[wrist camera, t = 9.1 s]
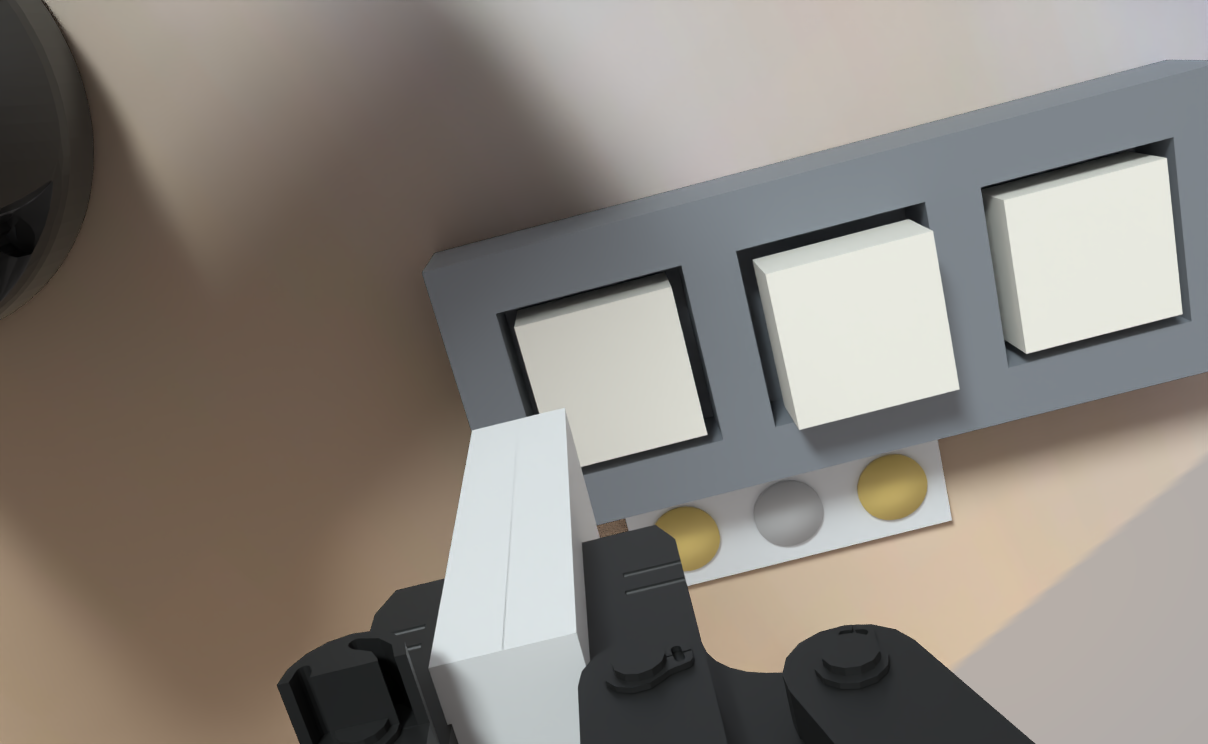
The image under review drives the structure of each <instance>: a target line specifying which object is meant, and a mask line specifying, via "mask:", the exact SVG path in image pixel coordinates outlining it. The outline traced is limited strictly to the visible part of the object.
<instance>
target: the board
mask: <svg viewBox="0 0 1208 744" xmlns="http://www.w3.org/2000/svg"><path fill="white" fill-rule="evenodd" d="M1127 151H1130V152H1136V153H1141V154H1147V155H1153V156H1158V157H1164V158H1167V164H1168V174H1169V184H1170V194H1171V204H1172V214H1173V224H1174V233H1175V243H1176V253H1177V263H1178V273H1179V283H1180V293H1181V303H1182V312H1183V314H1181V315H1177V316H1173V317H1169V318H1165V319H1162V320H1158V321H1154V322H1150V323H1146V324H1142V325H1138V326H1134V327H1130V328H1126V329H1122V330H1118V331H1114V332H1110V333H1106V334H1103V335H1099V336H1095V337H1091V338H1087V339H1083V340H1079V341H1075V342H1071V343H1067V344H1063V345H1059V346H1055V347H1051V348H1047V349H1043V350H1040V351H1036V352H1032V353H1028V354H1026V353H1024V352H1023V351H1021V350H1020V349H1018V348H1017V347H1015V346H1014V345H1012V344H1011V343H1009V342H1007V341H1006V340H1004V336H1003V330H1002V323H1001V317H1000V310H999V304H998V297H997V291H996V284H995V278H994V271H993V265H992V258H991V252H990V245H989V239H988V232H987V225H986V219H985V212H984V206H983V199H982V193H981V189H985V188H989V187H993V186H997V185H1000V184H1004V183H1008V182H1012V181H1016V180H1020V179H1023V178H1027V177H1031V176H1035V175H1039V174H1043V173H1046V172H1050V171H1054V170H1058V169H1062V168H1066V167H1069V166H1073V165H1077V164H1081V163H1085V162H1089V161H1092V160H1096V159H1100V158H1104V157H1108V156H1112V155H1115V154H1119V153H1123V152H1127ZM907 219H910V220H912V221H914V222H916V223H918V224H920V225H922V226H924V227H926V228H928V229H930V230H932V231H933V234H934V240H935V246H936V252H937V258H938V263H939V269H940V275H941V281H942V287H943V293H944V299H945V305H946V311H947V317H948V323H949V329H950V335H951V341H952V347H953V353H954V359H955V365H956V370H957V376H958V382H959V388H960V389H959V390H955V391H951V392H947V393H943V394H939V395H935V396H931V397H927V398H924V399H920V400H916V401H912V402H908V403H904V404H900V405H896V406H892V407H888V408H884V409H880V410H876V411H872V412H868V413H864V414H860V415H856V416H852V417H849V418H845V419H841V420H837V421H833V422H829V423H825V424H821V425H817V426H813V427H809V428H805V429H801V430H799V429H798V427H797V425H796V424H795V422H794V421H793V419H792V417H791V416H790V414H789V413H788V411H787V409H786V408H785V406H784V402H783V397H782V392H781V388H780V383H779V379H778V374H777V370H776V365H775V361H774V356H773V352H772V347H771V343H770V338H769V333H768V329H767V324H766V320H765V315H764V311H763V306H762V302H761V297H760V293H759V288H758V283H757V279H756V274H755V270H754V265H753V261H752V260H753V259H757V258H761V257H765V256H769V255H773V254H776V253H780V252H784V251H788V250H792V249H796V248H799V247H803V246H807V245H811V244H815V243H819V242H822V241H826V240H830V239H834V238H838V237H842V236H845V235H849V234H853V233H857V232H861V231H865V230H869V229H872V228H876V227H880V226H884V225H888V224H892V223H895V222H899V221H903V220H907ZM663 272H665V274H666V276H667V278H668V281H669V283H670V285H671V288H672V292H673V296H674V300H675V304H676V308H677V312H678V316H679V320H680V325H681V329H682V333H683V337H684V341H685V345H686V349H687V353H688V357H689V361H690V365H691V369H692V374H693V378H694V382H695V386H696V390H697V394H698V398H699V402H700V406H701V410H702V414H703V419H704V423H705V427H706V431H707V435H705V436H701V437H697V438H693V439H689V440H685V441H681V442H677V443H673V444H669V445H665V446H661V447H657V448H654V449H650V450H646V451H642V452H638V453H634V454H630V455H626V456H622V457H618V458H614V459H610V460H606V461H602V462H598V463H595V464H591V465H587V466H583V467H581V469H582V473H583V477H584V480H585V484H586V488H587V492H588V495H589V499H590V503H591V507H592V510H593V514H594V518H595V521H596V525H600V524H604V523H608V522H612V521H616V520H620V519H624V518H628V517H632V516H636V515H640V514H644V513H648V512H652V511H656V510H660V509H664V508H668V507H672V506H676V505H680V504H684V503H688V502H692V501H696V500H700V499H704V498H707V497H711V496H715V495H719V494H723V493H727V492H731V491H735V490H739V489H743V488H747V487H751V486H755V485H759V484H763V483H767V482H771V481H775V480H779V479H783V478H787V477H791V476H795V475H799V474H803V473H807V472H811V471H815V470H819V469H823V468H827V467H831V466H835V465H839V464H843V463H847V462H850V461H854V460H858V459H862V458H866V457H870V456H874V455H878V454H882V453H886V452H890V451H894V450H898V449H902V448H906V447H910V446H914V445H918V444H922V443H926V442H930V441H934V440H938V439H942V438H946V437H950V436H954V435H958V434H962V433H966V432H970V431H974V430H978V429H982V428H986V427H990V426H994V425H997V424H1001V423H1005V422H1009V421H1013V420H1017V419H1021V418H1025V417H1029V416H1033V415H1037V414H1041V413H1045V412H1049V411H1053V410H1057V409H1061V408H1065V407H1069V406H1073V405H1077V404H1081V403H1085V402H1089V401H1093V400H1097V399H1101V398H1105V397H1109V396H1113V395H1117V394H1121V393H1125V392H1129V391H1133V390H1137V389H1141V388H1144V387H1148V386H1152V385H1156V384H1160V383H1164V382H1168V381H1172V380H1176V379H1180V378H1184V377H1188V376H1192V375H1196V374H1200V373H1204V372H1208V60H1165V61H1161V62H1157V63H1153V64H1150V65H1146V66H1142V67H1138V68H1134V69H1131V70H1127V71H1123V72H1119V73H1115V74H1112V75H1108V76H1104V77H1100V78H1097V79H1093V80H1089V81H1085V82H1081V83H1078V84H1074V85H1070V86H1066V87H1062V88H1059V89H1055V90H1051V91H1047V92H1043V93H1040V94H1036V95H1032V96H1028V97H1024V98H1021V99H1017V100H1013V101H1009V102H1006V103H1002V104H998V105H994V106H990V107H987V108H983V109H979V110H975V111H971V112H968V113H964V114H960V115H956V116H952V117H949V118H945V119H941V120H937V121H934V122H930V123H926V124H922V125H918V126H915V127H911V128H907V129H903V130H899V131H896V132H892V133H888V134H884V135H880V136H877V137H873V138H869V139H865V140H861V141H858V142H854V143H850V144H846V145H843V146H839V147H835V148H831V149H827V150H824V151H820V152H816V153H812V154H808V155H805V156H801V157H797V158H793V159H789V160H786V161H782V162H778V163H774V164H770V165H767V166H763V167H759V168H755V169H752V170H748V171H744V172H740V173H736V174H733V175H729V176H725V177H721V178H717V179H714V180H710V181H706V182H702V183H698V184H695V185H691V186H687V187H683V188H680V189H676V190H672V191H668V192H664V193H661V194H657V195H653V196H649V197H645V198H642V199H638V200H634V201H630V202H626V203H623V204H619V205H615V206H611V207H607V208H604V209H600V210H596V211H592V212H589V213H585V214H581V215H577V216H573V217H570V218H566V219H562V220H558V221H554V222H551V223H547V224H543V225H539V226H535V227H532V228H528V229H524V230H520V231H516V232H513V233H509V234H505V235H501V236H498V237H494V238H490V239H486V240H482V241H479V242H475V243H471V244H467V245H463V246H460V247H456V248H452V249H448V250H444V251H441V252H437V253H434V255H433V256H432V258H431V259H430V261H429V262H428V264H427V266H426V267H425V269H424V270H423V272H422V275H423V278H424V282H425V285H426V288H427V291H428V294H429V297H430V301H431V304H432V307H433V310H434V313H435V317H436V320H437V323H438V326H439V329H440V332H441V336H442V339H443V342H444V345H445V348H446V352H447V355H448V358H449V361H450V364H451V368H452V371H453V374H454V377H455V380H456V383H457V387H458V390H459V393H460V396H461V399H462V403H463V406H464V409H465V412H466V415H467V419H468V422H469V425H470V428H471V431H472V430H476V429H480V428H484V427H488V426H492V425H496V424H500V423H504V422H509V421H513V420H517V419H521V418H525V417H529V416H533V415H537V414H539V411H538V407H537V404H536V401H535V397H534V394H533V390H532V387H531V384H530V380H529V377H528V373H527V370H526V366H525V363H524V360H523V356H522V353H521V349H520V346H519V342H518V339H517V336H516V332H515V329H514V326H515V321H516V315H517V310H521V309H525V308H529V307H532V306H536V305H540V304H544V303H548V302H552V301H555V300H559V299H563V298H567V297H571V296H575V295H578V294H582V293H586V292H590V291H594V290H598V289H601V288H605V287H609V286H613V285H617V284H621V283H624V282H628V281H632V280H636V279H640V278H644V277H647V276H651V275H655V274H659V273H663Z"/></svg>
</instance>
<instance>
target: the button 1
mask: <svg viewBox="0 0 1208 744" xmlns="http://www.w3.org/2000/svg"><path fill="white" fill-rule="evenodd" d="M514 329H515V332H516V336H517V339H518V342H519V346H520V349H521V353H522V356H523V360H524V363H525V366H526V370H527V373H528V377H529V380H530V384H531V387H532V390H533V394H534V397H535V401H536V404H537V407H538V411H539V414H541V413H545V412H549V411H553V410H557V409H562V408H565V410H566V413H567V417H568V421H569V425H570V428H571V432H572V436H573V440H574V443H575V447H576V451H577V454H578V458H579V462H580V466H581V467H583V466H587V465H591V464H595V463H598V462H602V461H606V460H610V459H614V458H618V457H622V456H626V455H630V454H634V453H638V452H642V451H646V450H650V449H654V448H657V447H661V446H665V445H669V444H673V443H677V442H681V441H685V440H689V439H693V438H697V437H701V436H705V435H707V431H706V427H705V423H704V419H703V414H702V410H701V406H700V402H699V398H698V394H697V390H696V386H695V382H694V378H693V374H692V369H691V365H690V361H689V357H688V353H687V349H686V345H685V341H684V337H683V333H682V329H681V325H680V320H679V316H678V312H677V308H676V304H675V300H674V296H673V292H672V288H671V285H670V283H669V281H668V278H667V276H666V274H665V272H663V273H659V274H655V275H651V276H647V277H644V278H640V279H636V280H632V281H628V282H624V283H621V284H617V285H613V286H609V287H605V288H601V289H598V290H594V291H590V292H586V293H582V294H578V295H575V296H571V297H567V298H563V299H559V300H555V301H552V302H548V303H544V304H540V305H536V306H532V307H529V308H525V309H521V310H517V315H516V321H515V326H514Z"/></svg>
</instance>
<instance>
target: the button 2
mask: <svg viewBox="0 0 1208 744" xmlns="http://www.w3.org/2000/svg"><path fill="white" fill-rule="evenodd" d="M752 261H753V265H754V270H755V274H756V279H757V283H758V288H759V293H760V297H761V302H762V306H763V311H764V315H765V320H766V324H767V329H768V333H769V338H770V343H771V347H772V352H773V356H774V361H775V365H776V370H777V374H778V379H779V383H780V388H781V392H782V397H783V402H784V406H785V408H786V409H787V411H788V413H789V414H790V416H791V417H792V419H793V421H794V422H795V424H796V425H797V427H798V429H799V430H801V429H805V428H809V427H813V426H817V425H821V424H825V423H829V422H833V421H837V420H841V419H845V418H849V417H852V416H856V415H860V414H864V413H868V412H872V411H876V410H880V409H884V408H888V407H892V406H896V405H900V404H904V403H908V402H912V401H916V400H920V399H924V398H927V397H931V396H935V395H939V394H943V393H947V392H951V391H955V390H959V389H960V388H959V382H958V376H957V370H956V365H955V359H954V353H953V347H952V341H951V335H950V329H949V323H948V317H947V311H946V305H945V299H944V293H943V287H942V281H941V275H940V269H939V263H938V258H937V252H936V246H935V240H934V234H933V231H932V230H930V229H928V228H926V227H924V226H922V225H920V224H918V223H916V222H914V221H912V220H910V219H907V220H903V221H899V222H895V223H892V224H888V225H884V226H880V227H876V228H872V229H869V230H865V231H861V232H857V233H853V234H849V235H845V236H842V237H838V238H834V239H830V240H826V241H822V242H819V243H815V244H811V245H807V246H803V247H799V248H796V249H792V250H788V251H784V252H780V253H776V254H773V255H769V256H765V257H761V258H757V259H753V260H752Z"/></svg>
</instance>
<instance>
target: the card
mask: <svg viewBox="0 0 1208 744" xmlns="http://www.w3.org/2000/svg"><path fill="white" fill-rule="evenodd" d="M625 520H626V523H627V527H628V531H631V530H636V529H640V528H644V527H648V526H652V525H656V526H658V527H659V528H661V529H662V530H663V531H665V532H666V533H668V534H669V535H670V536H672V537H673V538H675V540H676V544H677V548H678V552H679V556H680V559H681V563H682V567H683V571H684V575H685V579H686V583H687V586H690V585H694V584H698V583H702V582H706V581H710V580H714V579H718V578H722V577H726V576H730V575H734V574H738V573H742V572H746V571H750V570H754V569H758V568H762V567H766V566H770V565H774V564H778V563H782V562H786V561H790V560H794V559H798V558H802V557H806V556H810V555H814V554H818V553H822V552H826V551H830V550H835V549H839V548H843V547H847V546H851V545H855V544H859V543H863V542H867V541H871V540H875V539H879V538H883V537H887V536H891V535H895V534H899V533H903V532H907V531H911V530H915V529H919V528H923V527H927V526H931V525H935V524H939V523H943V522H947V521H951V520H952V518H951V512H950V506H949V501H948V495H947V489H946V484H945V478H944V473H943V467H942V461H941V456H940V450H939V444H938V440H934V441H930V442H926V443H922V444H918V445H914V446H910V447H906V448H902V449H898V450H894V451H890V452H886V453H882V454H878V455H874V456H870V457H866V458H862V459H858V460H854V461H850V462H847V463H843V464H839V465H835V466H831V467H827V468H823V469H819V470H815V471H811V472H807V473H803V474H799V475H795V476H791V477H787V478H783V479H779V480H775V481H771V482H767V483H763V484H759V485H755V486H751V487H747V488H743V489H739V490H735V491H731V492H727V493H723V494H719V495H715V496H711V497H707V498H704V499H700V500H696V501H692V502H688V503H684V504H680V505H676V506H672V507H668V508H664V509H660V510H656V511H652V512H648V513H644V514H640V515H636V516H632V517H628V518H625Z"/></svg>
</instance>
